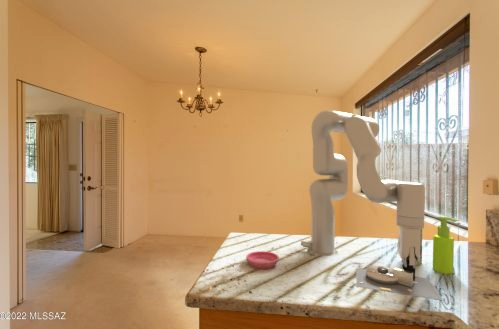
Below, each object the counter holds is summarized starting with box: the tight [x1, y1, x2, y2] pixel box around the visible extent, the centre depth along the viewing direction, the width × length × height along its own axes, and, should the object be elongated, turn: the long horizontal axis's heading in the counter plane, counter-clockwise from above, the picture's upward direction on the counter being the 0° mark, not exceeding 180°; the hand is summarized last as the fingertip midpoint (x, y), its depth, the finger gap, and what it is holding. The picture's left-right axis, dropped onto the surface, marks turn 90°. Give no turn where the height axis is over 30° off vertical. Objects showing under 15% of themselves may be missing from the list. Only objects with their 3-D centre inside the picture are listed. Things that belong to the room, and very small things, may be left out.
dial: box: [365, 265, 413, 287], centre depth 87 cm, size 14×10×4 cm
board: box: [355, 268, 443, 301], centre depth 86 cm, size 22×17×1 cm
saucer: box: [245, 250, 280, 270], centre depth 103 cm, size 12×12×3 cm
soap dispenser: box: [432, 216, 459, 275], centre depth 95 cm, size 6×7×20 cm
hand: (408, 279), depth 86 cm, fingers closed
